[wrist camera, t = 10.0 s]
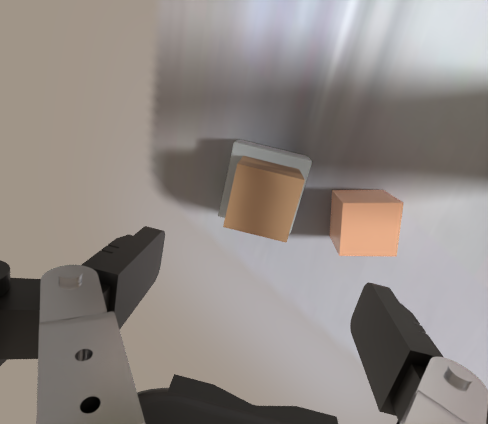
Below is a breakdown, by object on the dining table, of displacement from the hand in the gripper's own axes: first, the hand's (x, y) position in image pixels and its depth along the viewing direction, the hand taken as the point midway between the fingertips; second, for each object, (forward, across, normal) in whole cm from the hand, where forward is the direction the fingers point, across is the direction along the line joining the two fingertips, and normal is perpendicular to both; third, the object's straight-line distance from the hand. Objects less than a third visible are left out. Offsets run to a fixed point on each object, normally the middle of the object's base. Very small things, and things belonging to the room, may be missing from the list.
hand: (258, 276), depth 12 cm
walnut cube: (+16, 0, 0) cm, 16 cm away
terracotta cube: (+20, -10, +1) cm, 22 cm away
